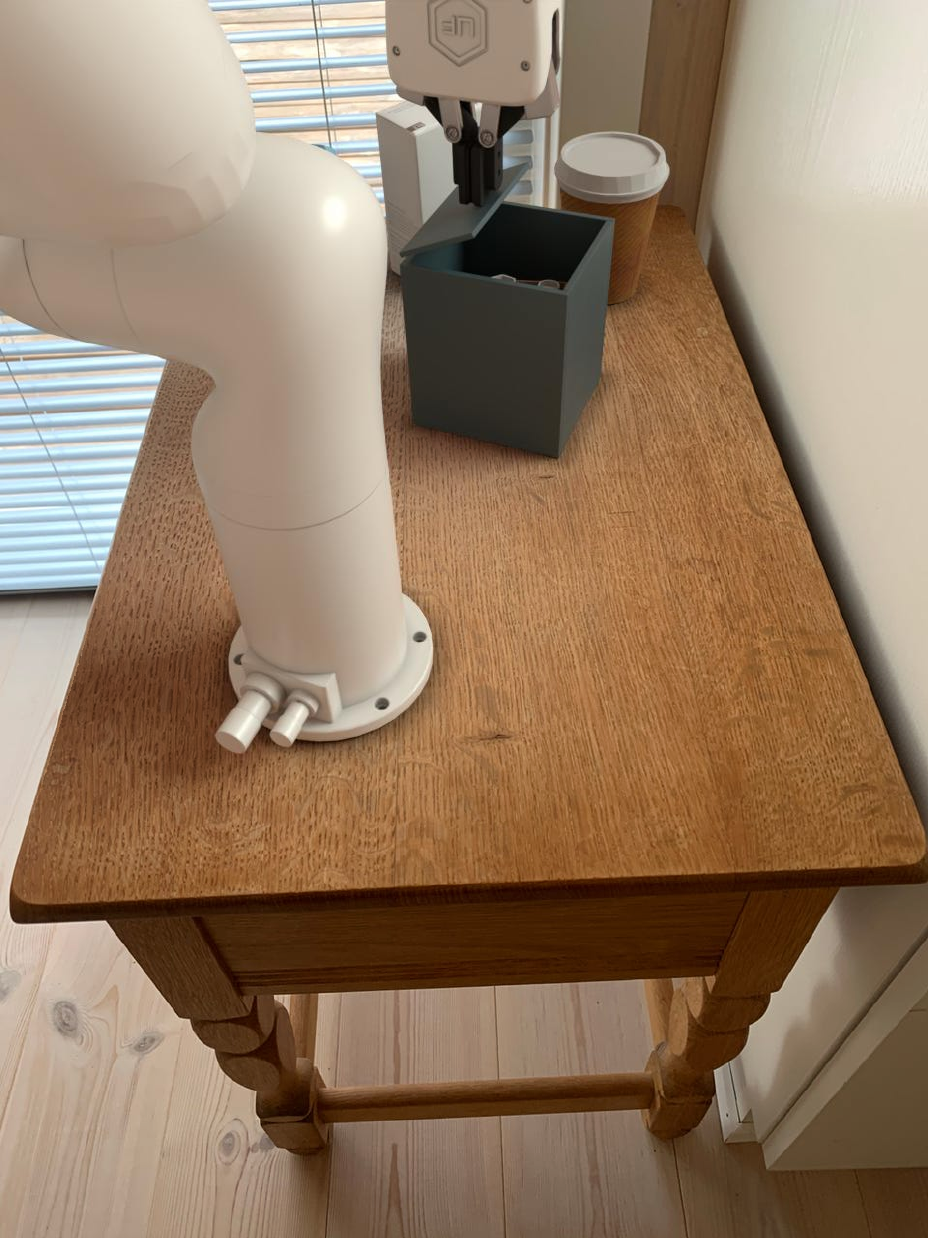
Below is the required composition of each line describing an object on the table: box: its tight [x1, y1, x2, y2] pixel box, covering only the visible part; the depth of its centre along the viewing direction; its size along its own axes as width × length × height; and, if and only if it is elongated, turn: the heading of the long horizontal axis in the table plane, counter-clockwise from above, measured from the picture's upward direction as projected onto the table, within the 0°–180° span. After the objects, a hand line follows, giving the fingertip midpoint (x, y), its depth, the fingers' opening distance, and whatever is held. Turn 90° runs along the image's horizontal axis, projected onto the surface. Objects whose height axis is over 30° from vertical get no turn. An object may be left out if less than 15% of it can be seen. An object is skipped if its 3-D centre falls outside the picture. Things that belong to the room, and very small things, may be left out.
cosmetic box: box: [375, 100, 482, 277], centre depth 87 cm, size 8×6×15 cm
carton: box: [400, 200, 615, 459], centre depth 74 cm, size 12×11×14 cm
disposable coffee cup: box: [553, 131, 670, 305], centre depth 85 cm, size 10×10×12 cm
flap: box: [399, 161, 531, 258], centre depth 68 cm, size 6×11×1 cm, turn 158°
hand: (478, 196), depth 67 cm, fingers closed
